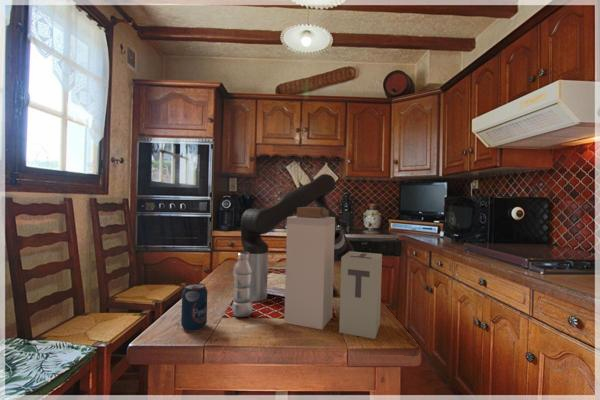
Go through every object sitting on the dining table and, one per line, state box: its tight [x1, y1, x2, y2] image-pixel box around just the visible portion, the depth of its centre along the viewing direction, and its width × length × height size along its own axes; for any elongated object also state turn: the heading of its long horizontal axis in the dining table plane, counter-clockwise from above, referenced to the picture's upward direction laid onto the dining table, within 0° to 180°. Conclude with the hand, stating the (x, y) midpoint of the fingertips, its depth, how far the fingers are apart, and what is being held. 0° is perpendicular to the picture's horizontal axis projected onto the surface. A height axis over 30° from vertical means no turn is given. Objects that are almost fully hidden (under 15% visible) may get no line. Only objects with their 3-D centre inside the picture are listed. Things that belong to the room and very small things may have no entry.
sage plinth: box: [338, 251, 383, 340], centre depth 95 cm, size 11×10×22 cm
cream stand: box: [283, 215, 335, 330], centre depth 101 cm, size 11×12×32 cm
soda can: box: [180, 282, 208, 333], centre depth 93 cm, size 7×7×12 cm
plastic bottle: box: [231, 251, 254, 318], centre depth 103 cm, size 6×7×20 cm
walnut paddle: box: [296, 206, 329, 218], centre depth 105 cm, size 18×7×3 cm, turn 159°
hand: (324, 217), depth 114 cm, fingers open, 8 cm apart
